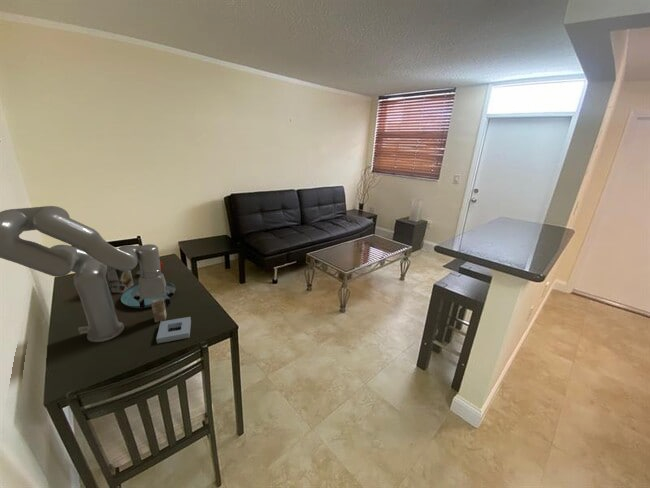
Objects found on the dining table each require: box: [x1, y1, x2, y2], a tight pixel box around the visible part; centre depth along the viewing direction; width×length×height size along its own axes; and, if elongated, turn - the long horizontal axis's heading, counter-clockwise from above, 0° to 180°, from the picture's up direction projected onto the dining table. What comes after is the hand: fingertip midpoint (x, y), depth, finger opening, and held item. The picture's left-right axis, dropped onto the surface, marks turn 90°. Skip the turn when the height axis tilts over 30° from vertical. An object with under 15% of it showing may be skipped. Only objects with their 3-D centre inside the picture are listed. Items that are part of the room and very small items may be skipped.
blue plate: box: [120, 281, 176, 309], centre depth 146 cm, size 24×24×3 cm
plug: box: [151, 299, 168, 323], centre depth 129 cm, size 4×4×9 cm
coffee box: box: [106, 266, 134, 294], centre depth 151 cm, size 9×6×16 cm
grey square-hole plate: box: [155, 316, 192, 344], centre depth 122 cm, size 12×12×2 cm
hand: (155, 306), depth 128 cm, fingers open, 9 cm apart
